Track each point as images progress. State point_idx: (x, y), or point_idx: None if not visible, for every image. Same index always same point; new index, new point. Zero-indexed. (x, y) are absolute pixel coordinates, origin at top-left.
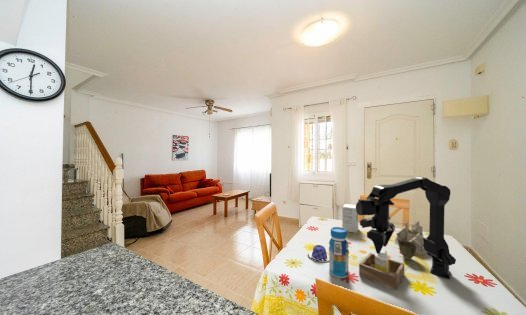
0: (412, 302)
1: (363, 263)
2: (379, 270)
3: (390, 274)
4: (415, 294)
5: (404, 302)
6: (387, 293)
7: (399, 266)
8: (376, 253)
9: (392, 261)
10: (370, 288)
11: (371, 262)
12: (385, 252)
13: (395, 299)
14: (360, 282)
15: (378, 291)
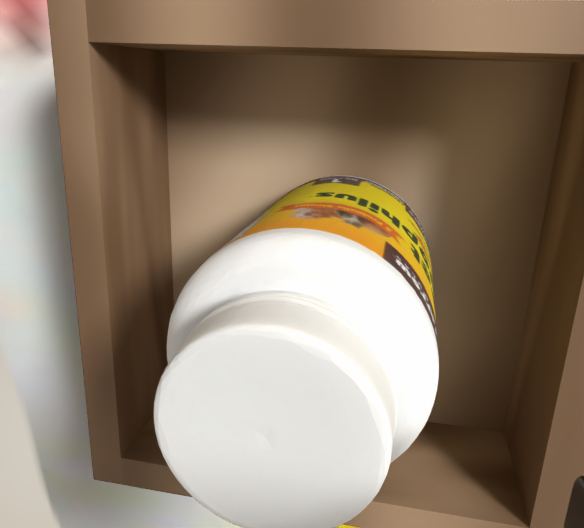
0: (98, 498)
1: (148, 43)
2: (105, 304)
3: (113, 426)
4: (222, 521)
5: (53, 453)
6: (59, 341)
7: (421, 509)
8: (296, 270)
9: (551, 419)
10: (8, 203)
11: (567, 61)
12: (241, 510)
13: (35, 399)
14: (18, 88)
15: (25, 273)
